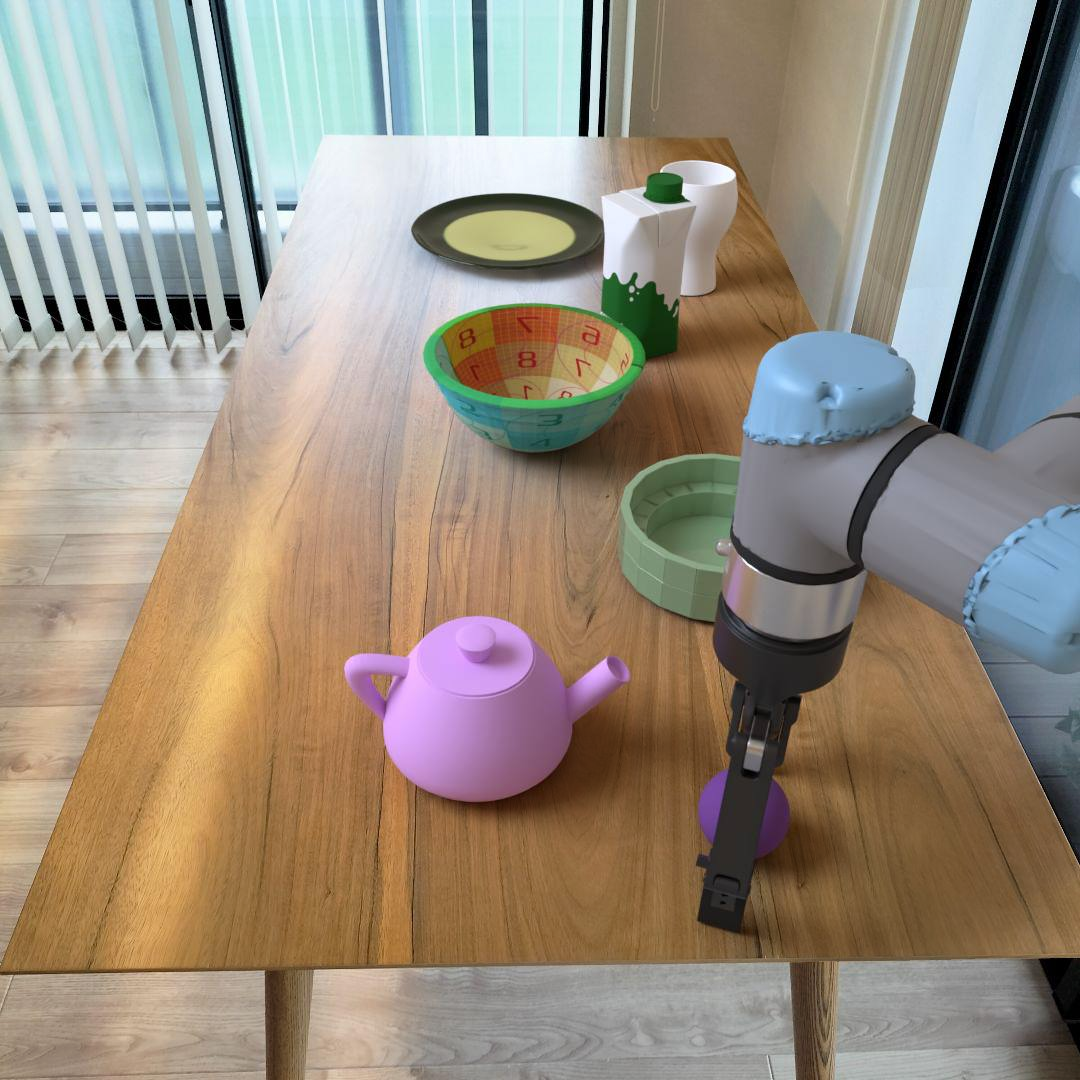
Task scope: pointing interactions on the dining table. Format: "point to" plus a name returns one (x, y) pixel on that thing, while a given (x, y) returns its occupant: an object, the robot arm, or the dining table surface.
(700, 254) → the cup
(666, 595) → the green bowl
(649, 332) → the milk carton
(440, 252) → the plate
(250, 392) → the dining table surface
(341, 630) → the dining table surface
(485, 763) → the teapot
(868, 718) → the dining table surface
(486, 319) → the bowl
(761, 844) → the ball
